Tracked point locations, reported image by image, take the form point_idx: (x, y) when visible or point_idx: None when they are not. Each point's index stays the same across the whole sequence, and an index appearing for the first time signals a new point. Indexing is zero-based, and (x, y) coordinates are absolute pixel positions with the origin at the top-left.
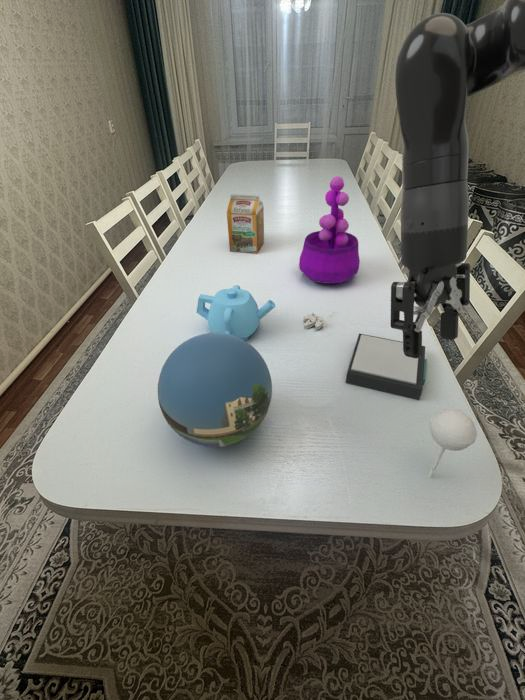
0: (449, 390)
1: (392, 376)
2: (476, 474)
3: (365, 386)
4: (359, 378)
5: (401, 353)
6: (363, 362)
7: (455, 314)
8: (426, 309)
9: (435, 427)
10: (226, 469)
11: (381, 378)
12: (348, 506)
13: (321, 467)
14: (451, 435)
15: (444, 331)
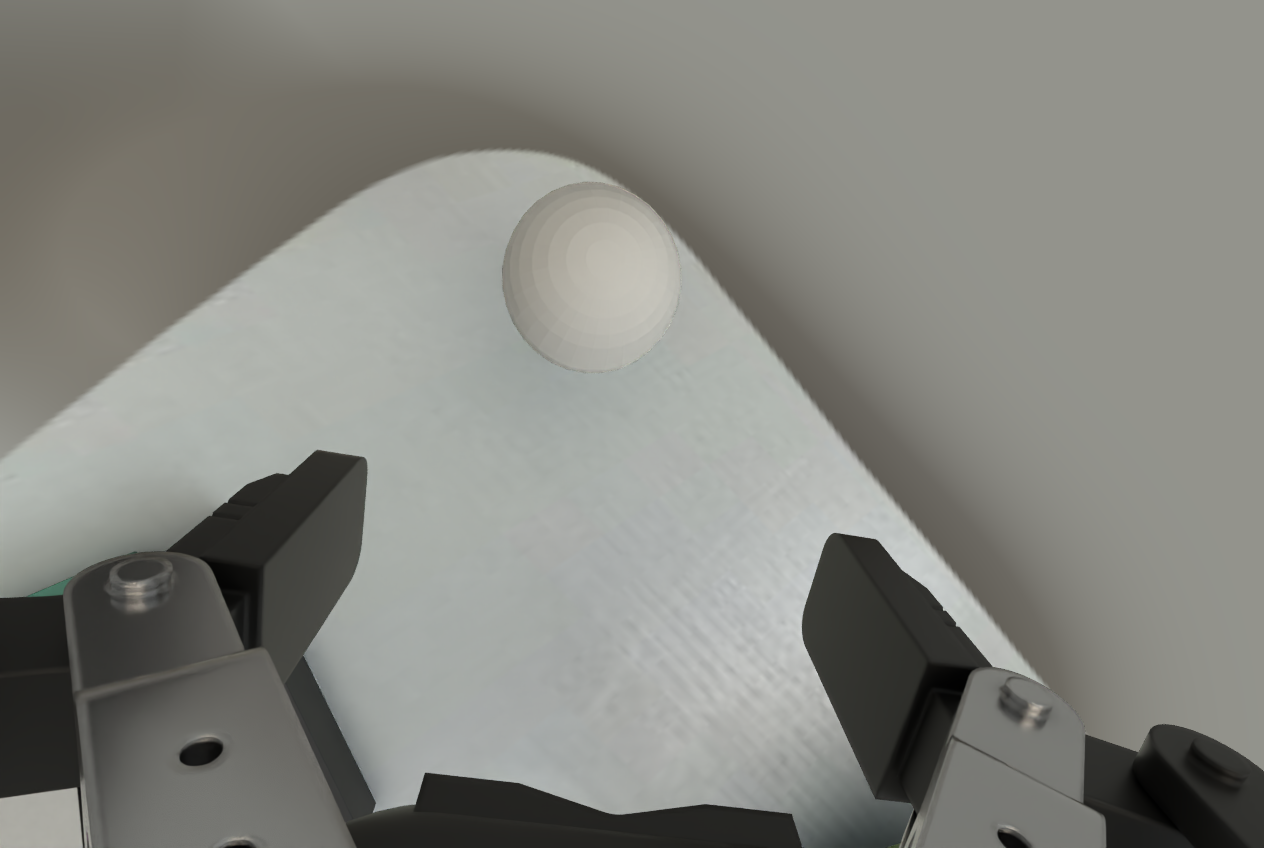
0: (64, 454)
1: None
2: (443, 216)
3: (336, 729)
4: (341, 777)
5: None
6: None
7: (226, 581)
8: (1102, 836)
9: (663, 331)
10: None
11: None
12: (814, 456)
13: (770, 592)
14: (677, 258)
15: (341, 566)
